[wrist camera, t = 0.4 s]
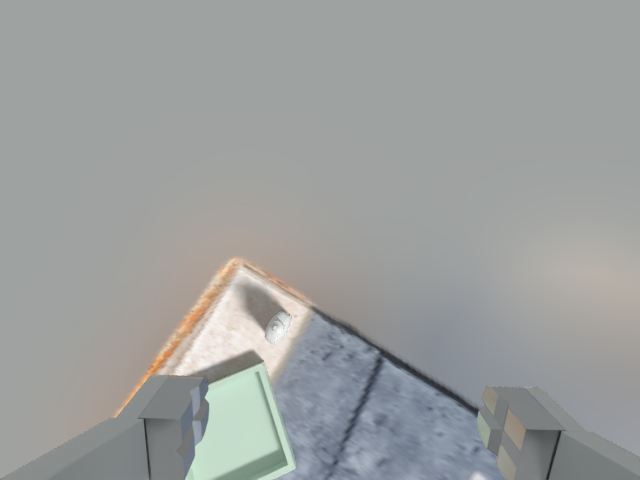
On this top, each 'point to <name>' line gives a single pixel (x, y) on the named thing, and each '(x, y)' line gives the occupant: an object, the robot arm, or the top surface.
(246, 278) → the top surface
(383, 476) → the top surface
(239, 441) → the tray
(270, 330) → the eye dropper bottle
